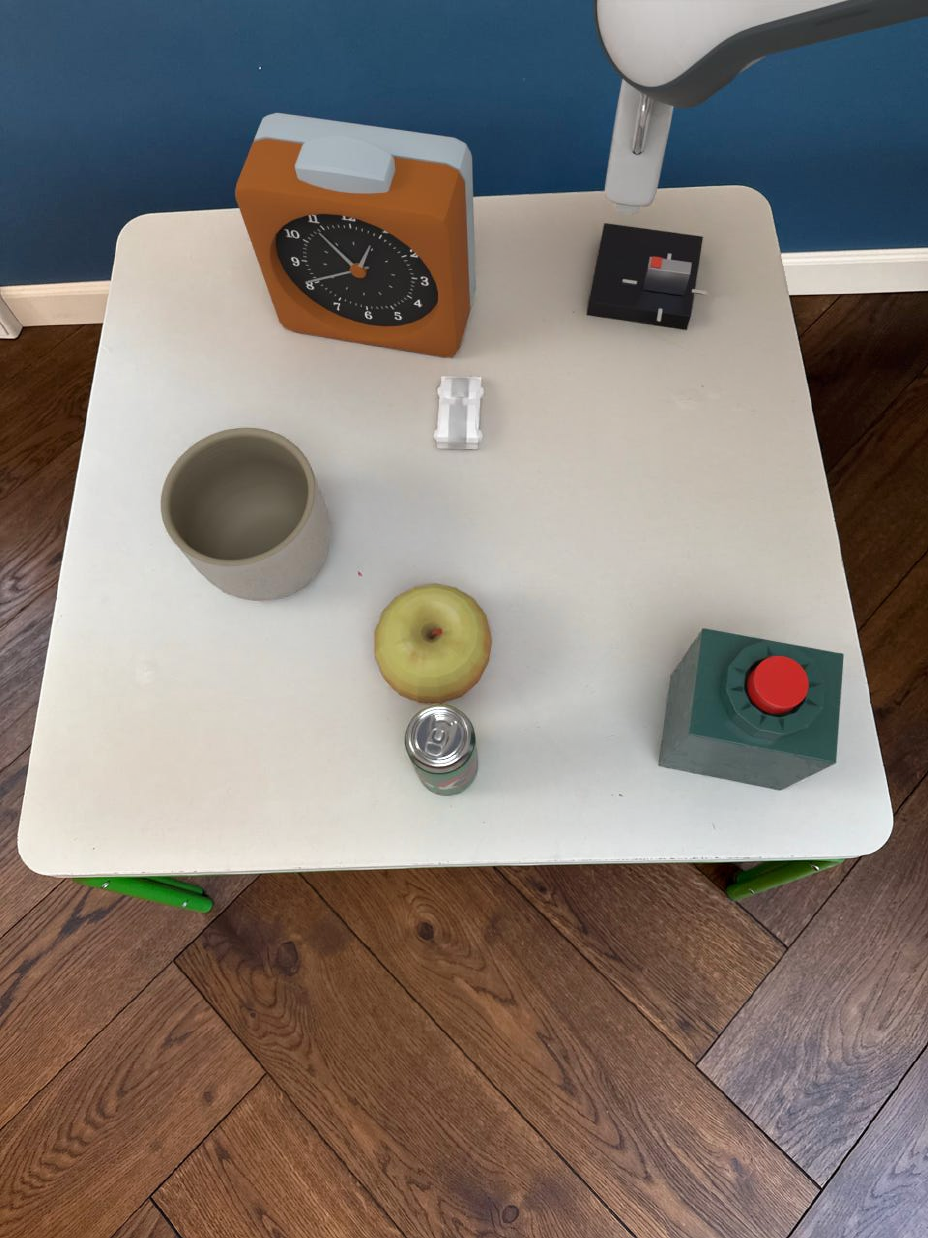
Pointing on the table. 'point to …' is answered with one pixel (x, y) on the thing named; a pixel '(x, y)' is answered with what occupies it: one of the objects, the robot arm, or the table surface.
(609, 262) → the black flat square piece
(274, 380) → the table surface
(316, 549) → the planter
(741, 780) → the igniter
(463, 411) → the toy car
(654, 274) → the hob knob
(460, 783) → the soda can
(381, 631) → the apple
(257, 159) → the alarm clock
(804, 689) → the button
